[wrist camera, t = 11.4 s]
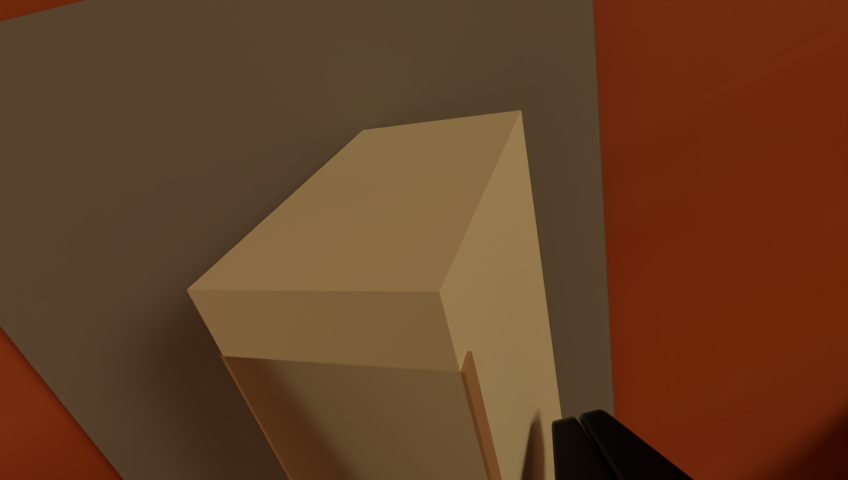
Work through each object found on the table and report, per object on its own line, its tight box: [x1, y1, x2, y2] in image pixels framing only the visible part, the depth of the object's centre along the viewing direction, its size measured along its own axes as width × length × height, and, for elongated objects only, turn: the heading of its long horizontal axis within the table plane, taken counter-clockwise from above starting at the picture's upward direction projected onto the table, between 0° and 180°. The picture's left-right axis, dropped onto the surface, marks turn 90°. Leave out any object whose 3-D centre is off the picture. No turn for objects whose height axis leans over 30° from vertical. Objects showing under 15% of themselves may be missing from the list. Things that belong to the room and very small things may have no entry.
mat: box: [0, 0, 614, 480], centre depth 12 cm, size 13×16×1 cm
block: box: [187, 110, 562, 480], centre depth 10 cm, size 3×10×5 cm, turn 13°
